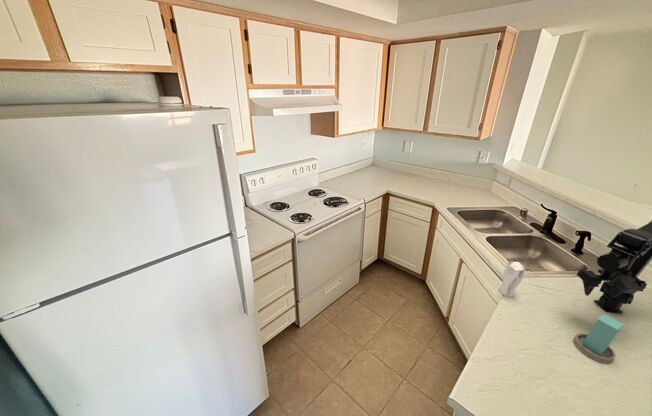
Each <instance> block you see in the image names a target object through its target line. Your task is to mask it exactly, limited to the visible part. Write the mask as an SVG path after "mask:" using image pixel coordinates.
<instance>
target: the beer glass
mask: <svg viewBox="0 0 652 416" xmlns="http://www.w3.org/2000/svg"><path fill="white" fill-rule="evenodd" d="M526 270H527V267H526V266H525V265H524V264H522V263H520V262H518V261H508V262H507V265H506V266H505V269H504V270H503V271H504V272H503V274H502V275H503V276H502V282H501V285H500V286H499V287H498V292H499V293H500V294H501V295H502V296H504V297H506V298H513V297H515V292H516V290H517V289H516V288H518V286H519V285H520V284H521V282H522V281H523V279H524V276H525V273H526Z"/></svg>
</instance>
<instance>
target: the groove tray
mask: <svg viewBox="0 0 652 416" xmlns="http://www.w3.org/2000/svg"><path fill="white" fill-rule="evenodd" d="M588 334H589V333H581V332H580V333H578V334H576V335H575V336H574V337H573V339H572V343H573V345H574V347H575V348H576V349H577V351H579V352H580V353H581V354H582V355H584V356H586V357H587V358H589V359H591V360H593V361H594V362H598V363H601V364H606V365H607V364H611V363H613V361H614V360H615V358H616V353H615V351H614V349H613V348H612V347H611V346H610V345H609V346H608V348H607V349H606V351H605V352H604V353H603V354H602V355H600V356H598V355H596V354H594V353H593V352H591V351H590V350H588V349H587V348H585V347H584V346H582V343H583V342H584V340H585V339H586V337H587V335H588Z"/></svg>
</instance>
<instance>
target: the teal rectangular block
mask: <svg viewBox="0 0 652 416" xmlns="http://www.w3.org/2000/svg"><path fill="white" fill-rule="evenodd" d="M623 326H624V323H622V322H620V321H619V320H616V319H615V318H612V317H611V316H609V315H607V314H605V313H603V314H602V315H600V317H598V318H597V320H596V321H595V323H594V324H593V326H592V328H591V329H590V331H589V332H588V333H587V334H588V335H587V337H586V339H585V340H584V342H583V343H582V346H584V347H585V348H587V349H588V350H590V351H591V352H593V353H594V354H596V355H598V356H600V355H602V354H603V353H604V352H605V351H606V349H607V348H608V346H610V345H611V344H612V343H613V340H614V339H615V338H616V336H617V335H618V333H619V332H620V330H621V329H622V328H623Z"/></svg>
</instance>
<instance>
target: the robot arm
mask: <svg viewBox="0 0 652 416" xmlns="http://www.w3.org/2000/svg"><path fill="white" fill-rule="evenodd" d="M606 247H607V248H609V249H611V250H610V251H608V252H607V253H604V254H602V255H600V256H598V257H597V259H596V263H597V265H598V267H600V268H601V269H598V270H597V272H598V273H599V274H596V273H595V272H593V270H590V269H589V270H588V269H579V270H578V272H577V273H576V276H577V277H578V278H580V279H581V280H582V283H583V291H584V295H585V296H587V297H588V296H590V294H591V293H592V292H593V290H594V289H595V288H599V287H600V285H601V287H600V289H599V292H601V293H602V295H601V296H600V297H599V299H594V300H593V302H594V303H596V304H597V306H599V307H600V308H602V309H603V310H604V312H607V313H615V314H623V313H624V311H623V310H621V308H622V307H623V305H631V304H632V303H633V300H634V298H635V294H636V293H637V292H644V290H645V289H646V288H647V285H648V284H647V282H646V281H645V280H641V279H640V278H638V277H639V276H640V275H641V273H642V272H643V271H644V270H645V269H646V268H647V267H648V265H649V264H650V263H651V261H652V220H650V221H649V222H648V223H646V224H644V225H642V226H640V227H639V228H637V229H635V228H627V229H624V230H622V231H619V232H617V234H616V235H615V236H614V237H613V238H612V240H611V241H610V242H609V243H608V244H607V245H606ZM602 282H603V283H602Z"/></svg>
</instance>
